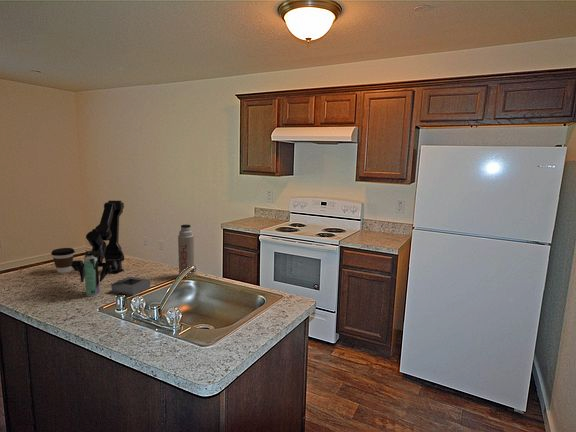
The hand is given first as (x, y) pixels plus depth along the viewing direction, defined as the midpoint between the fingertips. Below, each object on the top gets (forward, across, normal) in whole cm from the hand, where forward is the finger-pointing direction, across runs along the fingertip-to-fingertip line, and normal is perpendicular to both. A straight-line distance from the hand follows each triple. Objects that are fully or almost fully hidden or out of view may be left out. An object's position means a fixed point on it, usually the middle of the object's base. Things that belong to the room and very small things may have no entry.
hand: (91, 281), depth 166 cm
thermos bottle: (-12, +40, +22) cm, 47 cm away
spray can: (+4, 0, +6) cm, 7 cm away
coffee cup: (-22, -27, +31) cm, 46 cm away
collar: (+1, +16, +9) cm, 18 cm away
